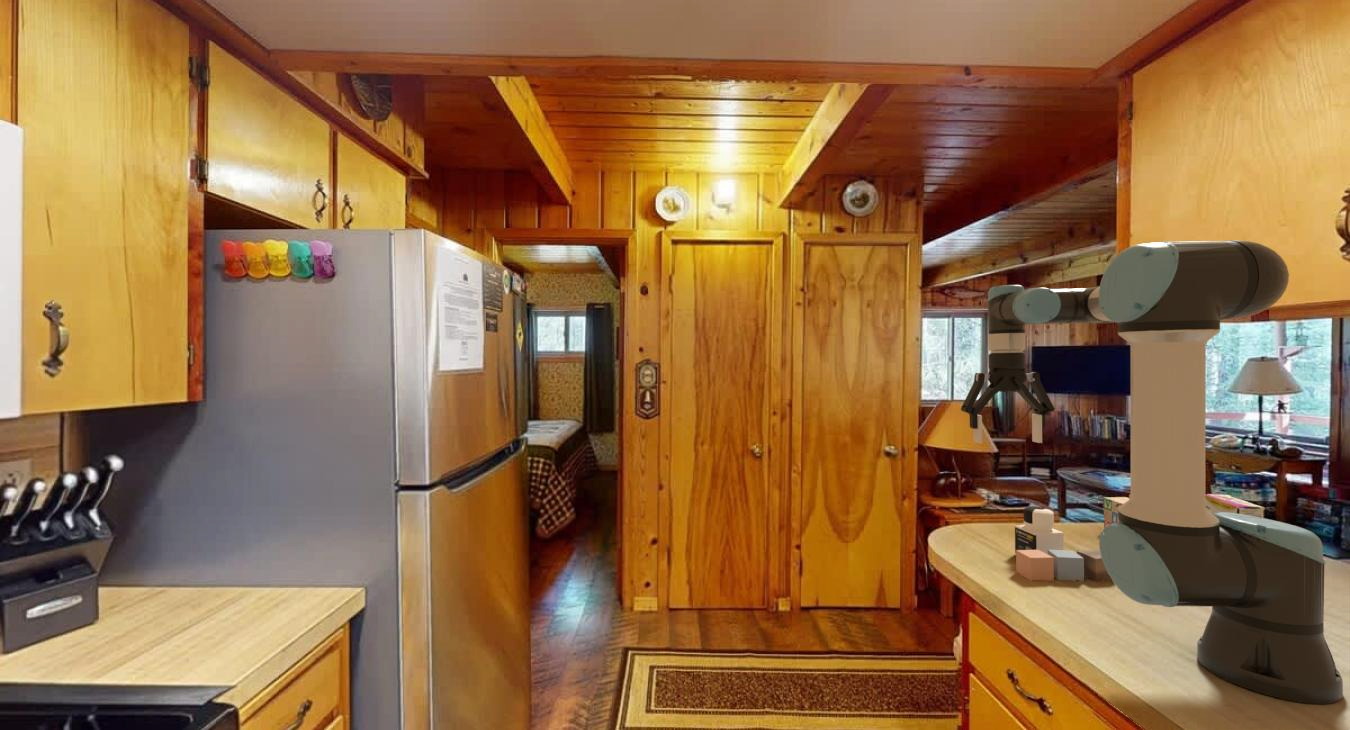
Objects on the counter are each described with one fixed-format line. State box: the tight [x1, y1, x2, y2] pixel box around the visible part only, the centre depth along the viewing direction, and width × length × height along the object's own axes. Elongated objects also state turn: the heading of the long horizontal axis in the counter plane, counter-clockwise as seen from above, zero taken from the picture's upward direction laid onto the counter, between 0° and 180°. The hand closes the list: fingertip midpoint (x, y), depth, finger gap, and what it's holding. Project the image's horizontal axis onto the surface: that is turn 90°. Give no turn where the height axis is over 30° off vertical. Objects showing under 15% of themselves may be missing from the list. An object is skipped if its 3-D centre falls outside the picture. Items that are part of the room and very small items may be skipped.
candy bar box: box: [1205, 493, 1266, 519], centre depth 124 cm, size 11×5×16 cm, turn 167°
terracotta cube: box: [1015, 550, 1055, 581], centre depth 126 cm, size 5×5×5 cm
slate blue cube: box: [1048, 549, 1085, 582], centre depth 125 cm, size 5×5×5 cm
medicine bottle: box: [1014, 505, 1065, 555], centre depth 136 cm, size 7×7×12 cm
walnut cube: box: [1076, 549, 1112, 582], centre depth 125 cm, size 5×5×5 cm
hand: (1007, 442), depth 135 cm, fingers open, 13 cm apart
